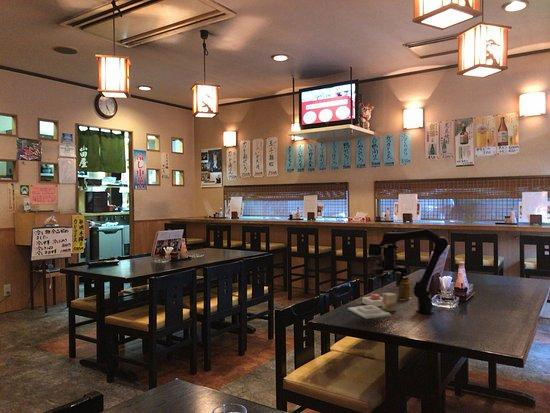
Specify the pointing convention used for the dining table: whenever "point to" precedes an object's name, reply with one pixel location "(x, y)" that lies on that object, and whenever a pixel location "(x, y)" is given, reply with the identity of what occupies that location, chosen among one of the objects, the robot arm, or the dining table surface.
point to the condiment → (404, 289)
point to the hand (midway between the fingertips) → (389, 287)
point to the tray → (369, 311)
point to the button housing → (372, 301)
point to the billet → (389, 301)
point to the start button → (375, 297)
